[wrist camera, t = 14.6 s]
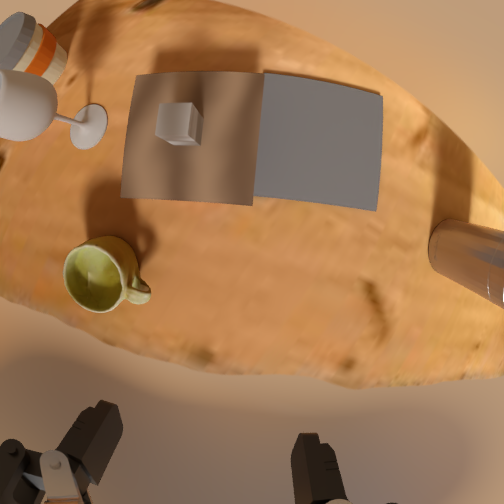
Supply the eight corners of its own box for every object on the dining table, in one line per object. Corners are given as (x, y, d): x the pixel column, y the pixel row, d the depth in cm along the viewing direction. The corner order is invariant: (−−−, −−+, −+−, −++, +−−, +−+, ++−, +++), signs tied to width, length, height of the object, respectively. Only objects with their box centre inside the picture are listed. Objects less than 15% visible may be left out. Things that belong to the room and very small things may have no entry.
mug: (70, 279, 36) (47, 292, 26) (99, 222, 37) (81, 218, 27) (134, 319, 39) (128, 342, 30) (164, 263, 41) (166, 271, 31)
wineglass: (116, 125, 32) (15, 86, 12) (82, 160, 33) (-26, 153, 13) (95, 94, 31) (3, 49, 11) (63, 128, 32) (-35, 108, 12)
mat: (380, 97, 32) (382, 96, 31) (373, 211, 35) (376, 211, 34) (263, 75, 31) (263, 72, 30) (251, 195, 35) (251, 195, 34)
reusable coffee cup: (28, 64, 28) (-20, 44, 14) (75, 29, 28) (31, -4, 13) (26, 113, 31) (-30, 100, 16) (76, 77, 30) (20, 48, 16)
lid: (264, 76, 26) (267, 49, 19) (252, 205, 29) (252, 209, 23) (139, 77, 26) (115, 56, 19) (123, 197, 29) (93, 200, 22)
